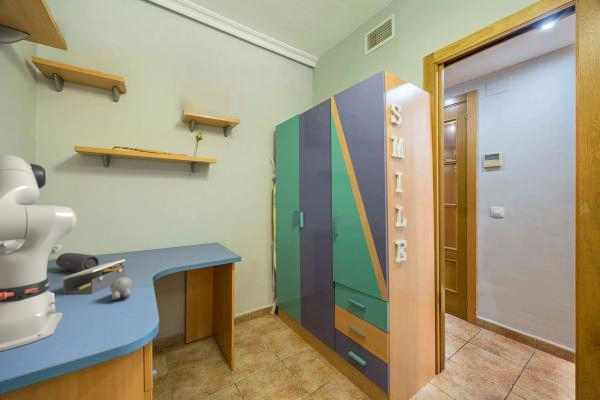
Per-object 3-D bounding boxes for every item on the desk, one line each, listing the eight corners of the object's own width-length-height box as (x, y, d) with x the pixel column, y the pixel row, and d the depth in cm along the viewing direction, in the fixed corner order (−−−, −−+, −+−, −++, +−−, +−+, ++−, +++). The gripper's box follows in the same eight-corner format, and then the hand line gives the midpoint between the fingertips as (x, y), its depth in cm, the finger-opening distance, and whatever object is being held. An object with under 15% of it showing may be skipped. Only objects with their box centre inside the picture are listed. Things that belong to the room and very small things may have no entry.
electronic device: (100, 277, 124) (100, 271, 124) (106, 269, 138) (106, 264, 138) (120, 275, 129) (120, 268, 129) (124, 267, 142) (124, 262, 142)
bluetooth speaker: (54, 271, 132) (54, 253, 132) (74, 267, 141) (74, 250, 141) (80, 276, 125) (80, 257, 125) (100, 271, 134) (100, 253, 134)
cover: (92, 272, 101) (92, 270, 101) (62, 279, 101) (62, 277, 101) (125, 260, 121) (124, 259, 121) (99, 266, 121) (99, 265, 121)
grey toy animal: (131, 297, 104) (131, 278, 107) (132, 296, 95) (132, 274, 98) (110, 301, 100) (111, 281, 102) (109, 300, 91) (110, 277, 93)
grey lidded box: (94, 293, 101) (94, 279, 101) (63, 294, 101) (63, 280, 101) (126, 278, 121) (126, 267, 121) (100, 278, 121) (100, 267, 121)
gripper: (-6, 249, 99) (29, 249, 100) (44, 241, 120) (73, 241, 120) (-6, 264, 99) (28, 264, 100) (44, 253, 120) (72, 253, 120)
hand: (53, 251), depth 110 cm, fingers closed
